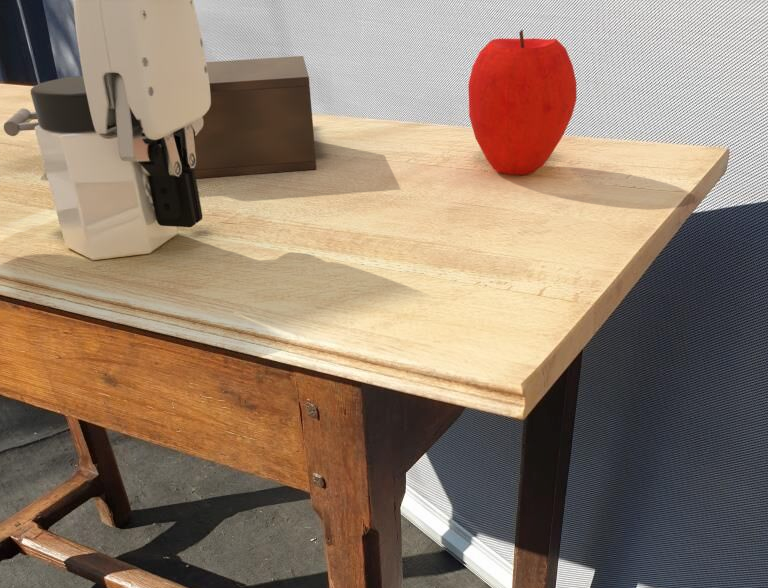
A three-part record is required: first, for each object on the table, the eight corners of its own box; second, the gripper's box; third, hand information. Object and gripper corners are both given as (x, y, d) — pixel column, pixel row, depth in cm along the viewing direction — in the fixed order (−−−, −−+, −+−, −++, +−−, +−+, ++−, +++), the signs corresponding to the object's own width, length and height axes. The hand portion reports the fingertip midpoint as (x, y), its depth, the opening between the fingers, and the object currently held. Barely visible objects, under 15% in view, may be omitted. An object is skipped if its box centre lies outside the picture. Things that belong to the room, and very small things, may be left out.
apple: (573, 157, 84) (585, 21, 77) (566, 186, 76) (578, 37, 69) (475, 155, 86) (478, 22, 79) (458, 183, 78) (459, 38, 71)
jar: (138, 264, 64) (102, 96, 57) (48, 257, 66) (2, 94, 59) (192, 226, 71) (166, 72, 64) (109, 221, 73) (74, 71, 66)
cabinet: (170, 180, 83) (153, 86, 78) (180, 149, 93) (165, 64, 88) (316, 169, 84) (308, 76, 79) (310, 139, 94) (303, 55, 89)
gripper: (136, -55, 62) (182, 193, 73) (10, -39, 50) (86, 254, 61) (227, -59, 60) (261, 196, 71) (118, -43, 48) (178, 260, 59)
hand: (180, 222), depth 66 cm, fingers closed
